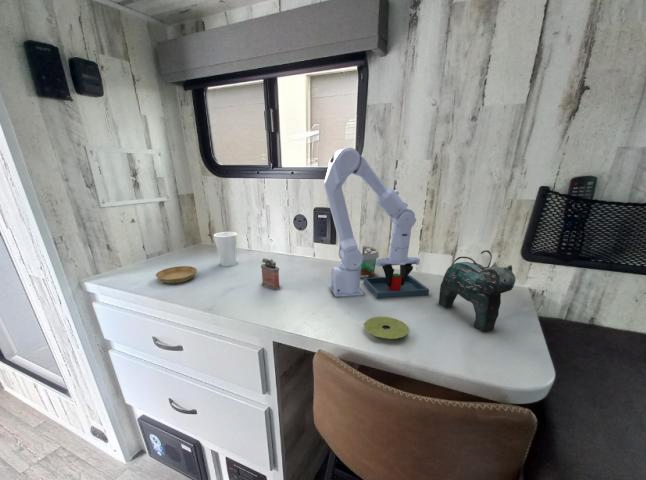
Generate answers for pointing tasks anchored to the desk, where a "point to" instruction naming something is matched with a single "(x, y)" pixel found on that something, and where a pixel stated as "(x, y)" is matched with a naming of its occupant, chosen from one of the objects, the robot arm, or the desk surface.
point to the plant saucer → (176, 274)
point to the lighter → (270, 274)
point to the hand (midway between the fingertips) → (394, 285)
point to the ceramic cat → (477, 289)
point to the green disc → (386, 327)
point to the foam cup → (226, 247)
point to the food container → (368, 262)
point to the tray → (383, 291)
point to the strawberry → (396, 282)
